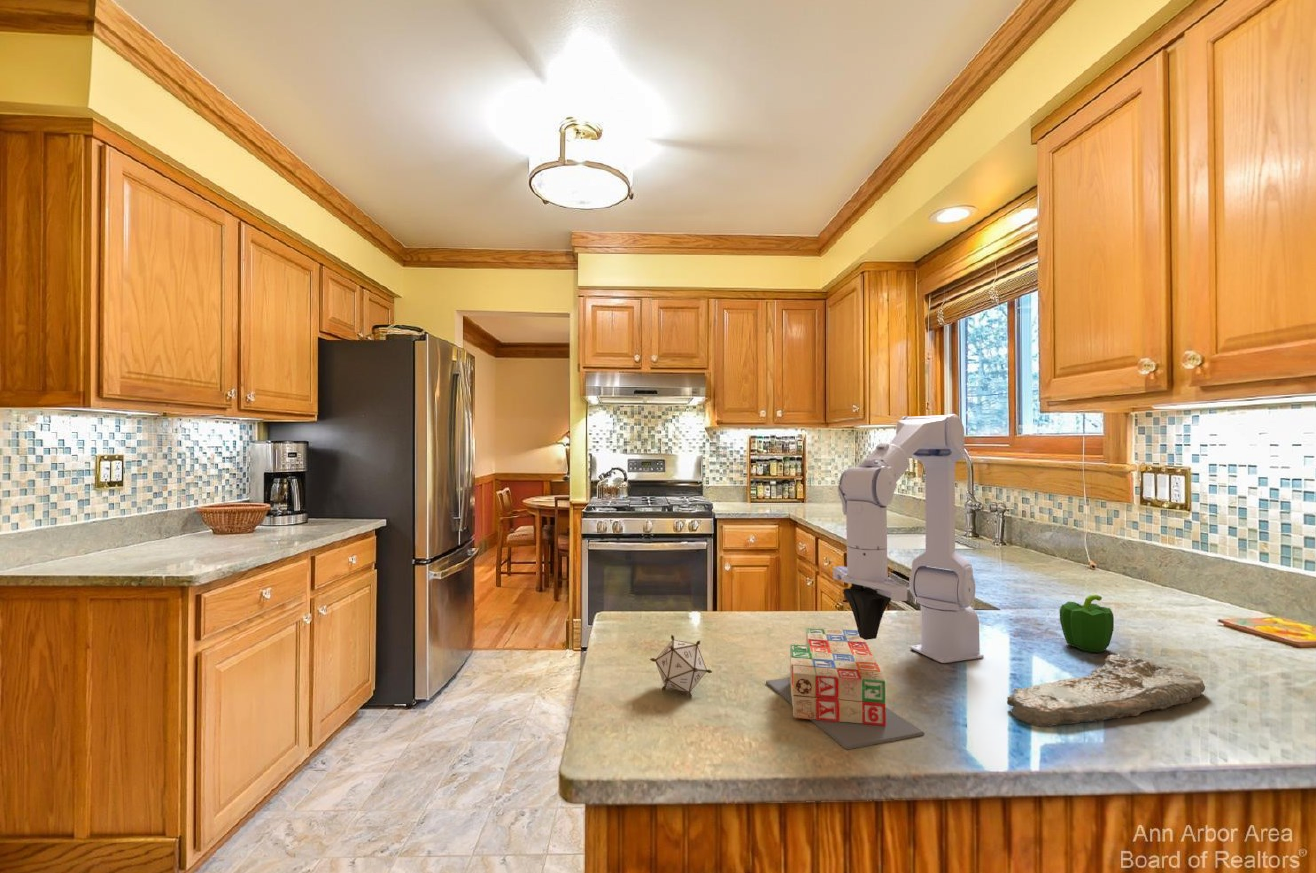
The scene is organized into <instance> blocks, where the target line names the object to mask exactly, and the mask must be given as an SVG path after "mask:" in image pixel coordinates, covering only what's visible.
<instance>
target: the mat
mask: <svg viewBox="0 0 1316 873" xmlns="http://www.w3.org/2000/svg"><path fill="white" fill-rule="evenodd" d="M765 683H766V685H767V686H768V687H769V688H771V689H772V690H773V691H774V692H776V693H777V694H778V695H780V696H781V697H782V698H783V699H784V700H786V702H787V703H790V704H791V705H792V697H791V683H790V677H783V678H776V679H770V680H765ZM809 721H811V722H812V723H813V724H815V725H816V727H818V728H819V729H820V730H822V731H823V732H824V733H825V734H826V735H828V736H829V737H830V738H832V740H834V741H835V742H836V743H837V744H839V745H840V746H841V747H842V748H844V750H846V751H847V750H851V749H856V748H862V747H867V746H873V745H878V744H883V743H888V742H893V741H897V740H898V741H899V740H904V739H909V738H914V737H919V736H920V737H921V736H924V735H925V732H924V730H923V729H921V728H919V727H917V726H916V725H914V724H913V723H911V722H909V721H908V720H906V719H905V718H903V717H901V716H900V715H898V714H897V713H895V712H894V711H892V710H891V709H889V708H888V707H886V726H878V725H867V724H862V723H850V722H832V721H821V720H816V719H809Z"/></svg>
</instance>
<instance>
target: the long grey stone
mask: <svg viewBox="0 0 1316 873" xmlns="http://www.w3.org/2000/svg"><path fill="white" fill-rule="evenodd" d="M1205 690H1206V685H1205V683H1204V681H1203V679H1202V677H1200V676H1199V675H1197V674H1196V673H1193V672H1191V671H1187V670H1185V669H1182V668H1178V667H1172V666H1168V665H1159V664H1156V663H1154V662H1152V661H1150V660H1147V659H1143V658H1140V657H1135V658H1134V657H1133V658H1129V657H1128V658H1127V657H1123V656H1122V655H1121V654H1120V653H1117V654H1110V655H1109V654H1108V655H1107V656H1106V658H1105V659H1104V664H1103V666H1102V667H1097V668H1094V669H1093V670H1091V673H1090V675H1087V676H1084V675H1083V676H1081V677H1070V678H1066V679H1060V680H1058V681H1054V682H1046V683H1041V684H1039V685H1038V684H1037V685H1030V686H1028V687H1024V688H1021V687H1019V688H1018V687H1015V688H1014V689H1013V693H1012V694H1011V695H1009V696H1007V700H1006V704H1007V705H1008V706H1009V707H1012V708H1011V709H1010V712H1011V714H1012V715H1013V716H1014V717H1016V718H1017V719H1018V720H1021V721H1022V722H1023V723H1027V724H1029V725H1032V726H1036V727H1041V728H1045V727H1048V728H1050V727H1052V726H1058V725H1062V724H1063V725H1064V724H1065V725H1071V724H1078V723H1087V722H1103V721H1104V720H1107V719H1109V720H1111V719H1122V718H1123V717H1124V718H1125V717H1126V718H1127V717H1138V716H1139V715H1140V714H1141V713H1143V712H1148V711H1151V710H1152V711H1155V710H1165V709H1169V708H1170V707H1172V706H1177V705H1183V704H1188V703H1191V702H1192V699H1195V698H1197V697H1198V698H1199V697H1200V696H1201V695H1202V693H1204V692H1205Z"/></svg>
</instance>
